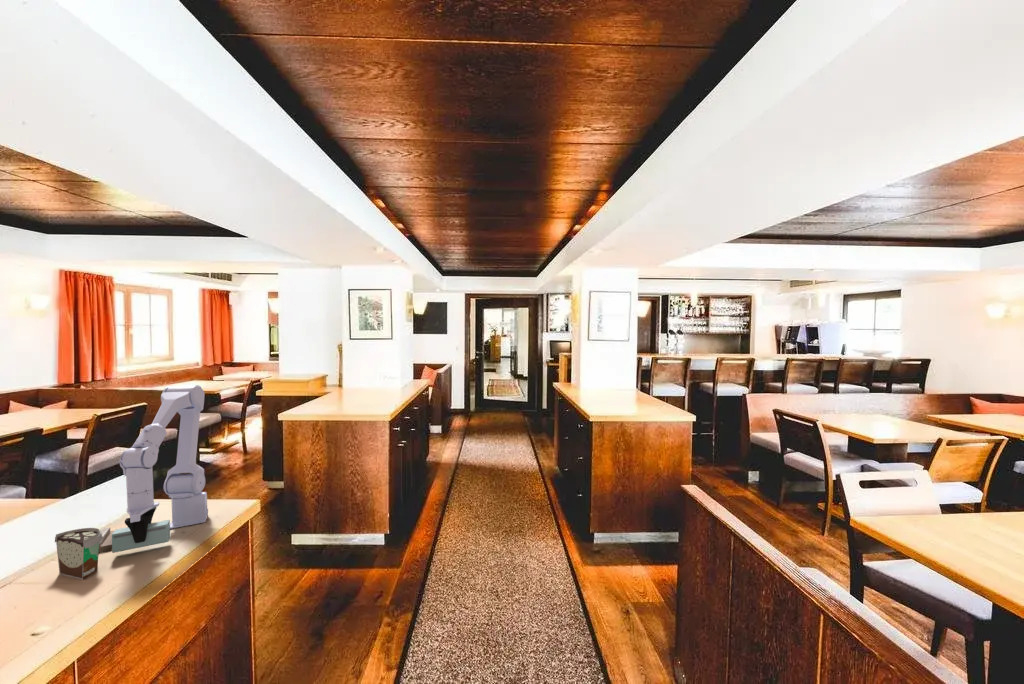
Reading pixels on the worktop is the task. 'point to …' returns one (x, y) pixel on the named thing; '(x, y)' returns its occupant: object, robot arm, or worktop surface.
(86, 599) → the worktop surface
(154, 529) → the glasses case
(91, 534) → the food container
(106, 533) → the display stand
